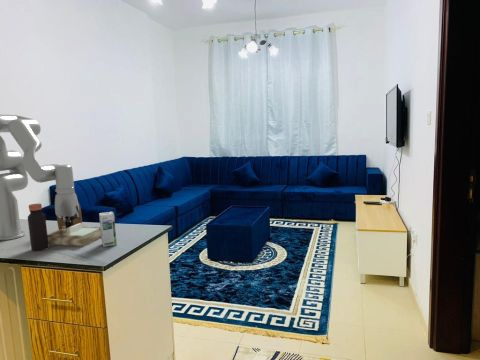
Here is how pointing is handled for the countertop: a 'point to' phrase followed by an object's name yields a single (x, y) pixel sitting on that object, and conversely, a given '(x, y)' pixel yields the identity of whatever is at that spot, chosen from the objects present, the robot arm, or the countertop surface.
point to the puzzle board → (72, 238)
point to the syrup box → (107, 229)
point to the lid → (80, 230)
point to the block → (76, 221)
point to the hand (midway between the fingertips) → (69, 229)
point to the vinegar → (37, 228)
